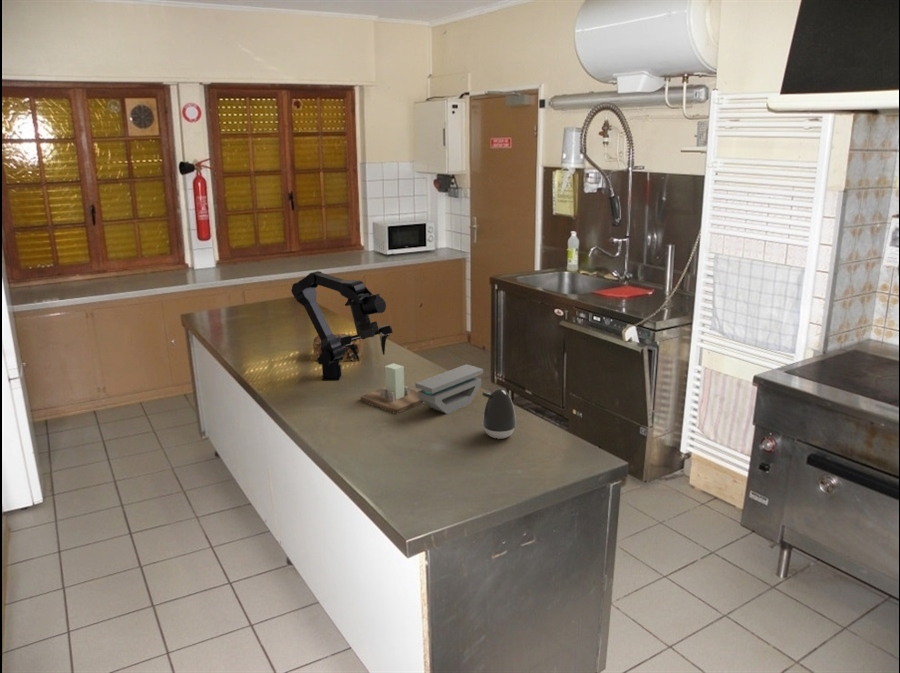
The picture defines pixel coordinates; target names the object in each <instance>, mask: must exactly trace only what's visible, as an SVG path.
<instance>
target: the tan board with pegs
mask: <svg viewBox="0 0 900 673" xmlns="http://www.w3.org/2000/svg"><path fill="white" fill-rule="evenodd" d="M360 401H361V402H363V401H364V403H366V402H367V403H366V404H369V403H370V404H369V405H371V404H373V405H372V406H374V405H375V407H377V406H378V407H377V408H379V407H381V408H380V409H382V408H383V410H385V409H386V410H385V411H387V410H388V412H390V411H391V413H393V412H394V414H395V413H396V415H398V414H400V413H402V411H403V412H405V411H407V410H410V409H413V408H414V406H415V407H417V406H419V405H421V403H422V404H424V403H423V401H422V400H420V399H419V398H418V391H416V390H413V389H410V387H409V386H407V385H404V397H402V398H399V399H397V400H396V399H395V393H394V392H391V391H390V392H389V397H387V390H386V386H384V387H382V388H379V389H377V390H374V391H371V392H369V393H366V394H364V395H360ZM409 408H410V409H409ZM397 413H398V414H397Z"/></svg>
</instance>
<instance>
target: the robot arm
mask: <svg viewBox="0 0 900 673" xmlns="http://www.w3.org/2000/svg"><path fill="white" fill-rule="evenodd" d="M291 286H292V287H291V289H290V291H291V294H292V296H293V297H294V298H295V300H296V301H297V303H299V304H301V305H302V306H303V307H304V309H305V311H306V313H307V315H308V316H309V320H310V321H311V323H312V325H313V326H314V329H315V332H316V333H317V336H318V335H319V337H320V339H321V351H322V354H321V355H320V356H319V357H318V358H317V360H318V361H317V362H318V364H319V365H321V368H322V369H321V371H322V377H321V380H322V381H339V380H340V379H341V377H342V375H343V370H342V364H341V363H340V362H341V361H340V360H343V357H344V355H345V351H346V349H345V347H349V348H350V349H351V350H352V352H353V353H354V355H355V357H356V358H357V361H358V362H360V358H359V357H358V354H357V352H356V349H355V347H354V344H353V343H352V341H354V340H358V339H361V340H366V339H368V338H374V337H375V336H377V335H379V340H380V341H379V342H380V346H381V348H380V349H381V353H382V355H383V356H385V351H386V341H387V338H388V337H390V335H391V334H393V329H392V326H391V325H389V324H384V325H381V326H379V324H378V322H377V321H372V322H371V317H370V316H371V315H378V314H382V313H384V312H385V311H386V308H387V304H386V301H385V299H384V298H383V297H381V296H380V293H375V294H373V293H372V292H371V290H370V289H368V288H367V286H366V285H365V284H364V282H363V281H362V280H360V279H359V280H358V279H343V278H340V277H336V276H333V275H329V274H327V273H323V272H322V271H319V270H317V271H312V272H310V273H309V274H307V275H306V276H305V277H303V278H302V279H301V280H299V281H297V282H295V283H293V284H292V285H291ZM319 286H321V287H323V288H326V289H330V290H333V291H336V292H338V293H340V295H341V297H344V298H346V299H347V301H346V302H345V304H344V305H345V306H346V307H348V306H349V307H350V310H351V314H352V319H353V322H354V326H355V331H356V334H354V335H353V336H350V335H351V334H350V333H349V334H346V335H344V336H341V337H336V336H334V335H333V334H334V333H333V331H332V330H331V327H330V326H329V324H328V322H327V320H326V318H325V315H324V314H323V312H322V309H321V307H320V306H319V304H318V301H317V292H318V291H317V287H319ZM344 346H345V347H344Z"/></svg>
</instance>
